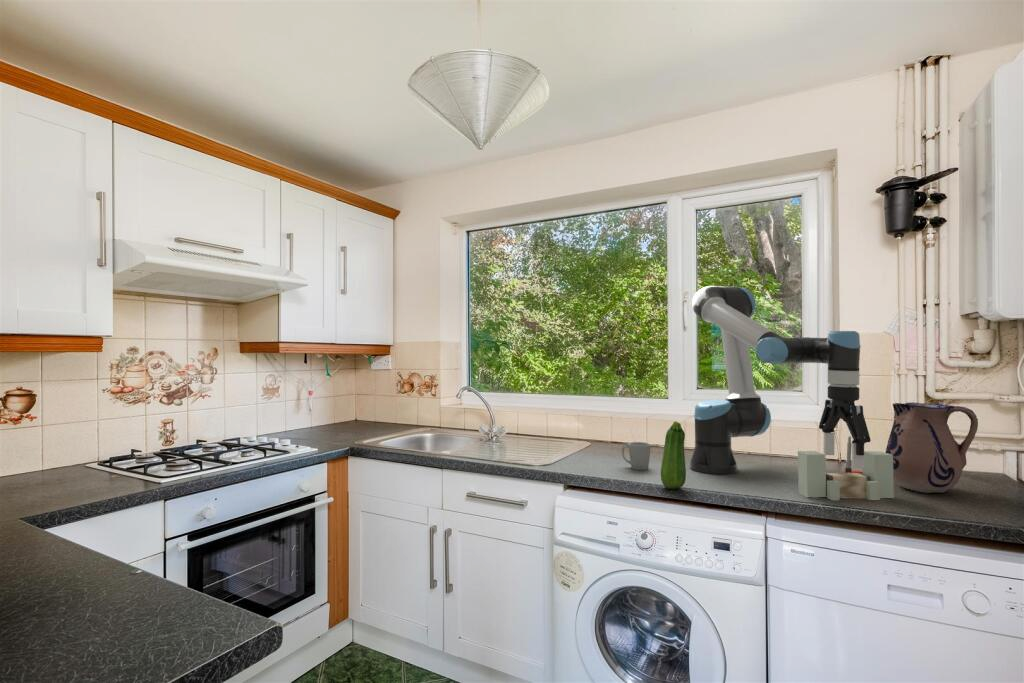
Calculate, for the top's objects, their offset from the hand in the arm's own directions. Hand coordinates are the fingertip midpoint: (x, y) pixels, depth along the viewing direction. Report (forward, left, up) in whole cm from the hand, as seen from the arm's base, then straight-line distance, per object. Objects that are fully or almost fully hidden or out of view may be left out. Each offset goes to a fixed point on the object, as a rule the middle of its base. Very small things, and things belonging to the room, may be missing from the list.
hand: (842, 460), depth 144 cm
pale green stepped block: (-8, 0, -10) cm, 12 cm away
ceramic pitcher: (+28, +7, -10) cm, 31 cm away
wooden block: (0, -1, -10) cm, 10 cm away
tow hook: (+18, +22, -10) cm, 30 cm away
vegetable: (-46, +6, -10) cm, 47 cm away
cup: (-52, +32, -10) cm, 61 cm away
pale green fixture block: (+8, 0, -10) cm, 13 cm away
